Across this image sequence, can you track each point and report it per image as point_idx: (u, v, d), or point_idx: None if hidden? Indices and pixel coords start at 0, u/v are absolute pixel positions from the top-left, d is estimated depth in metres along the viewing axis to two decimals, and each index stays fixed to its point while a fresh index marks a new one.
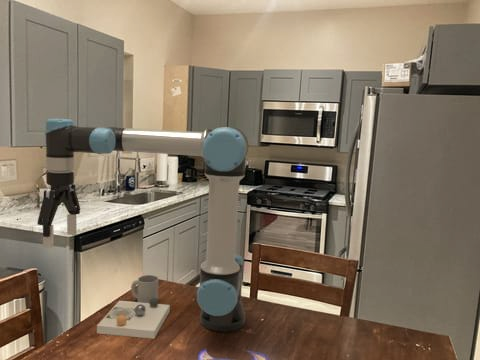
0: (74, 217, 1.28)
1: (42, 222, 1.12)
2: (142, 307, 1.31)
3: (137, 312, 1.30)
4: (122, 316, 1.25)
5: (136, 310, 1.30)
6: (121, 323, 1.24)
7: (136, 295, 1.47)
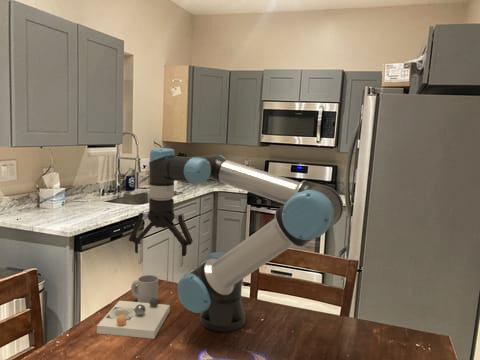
0: None
1: None
2: (142, 307, 1.31)
3: (137, 312, 1.30)
4: (122, 316, 1.25)
5: (136, 310, 1.30)
6: (121, 323, 1.24)
7: (136, 295, 1.47)
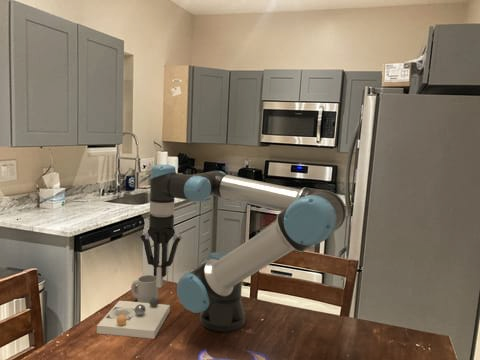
0: None
1: None
2: (142, 307, 1.31)
3: (137, 312, 1.30)
4: (122, 316, 1.25)
5: (136, 310, 1.30)
6: (121, 323, 1.24)
7: (136, 295, 1.47)
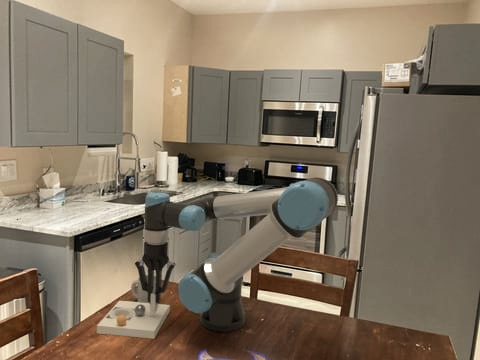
0: None
1: None
2: (142, 307, 1.31)
3: (137, 312, 1.30)
4: (122, 316, 1.25)
5: (136, 310, 1.30)
6: (121, 323, 1.24)
7: (136, 295, 1.47)
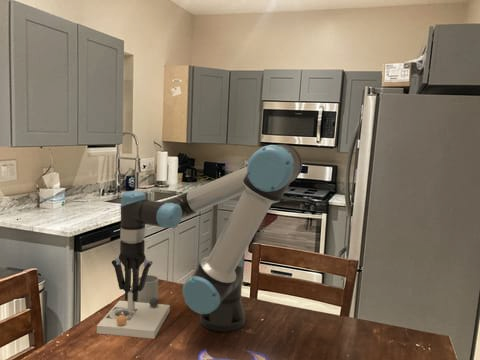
0: None
1: None
2: None
3: None
4: (122, 316, 1.25)
5: None
6: (121, 323, 1.24)
7: None
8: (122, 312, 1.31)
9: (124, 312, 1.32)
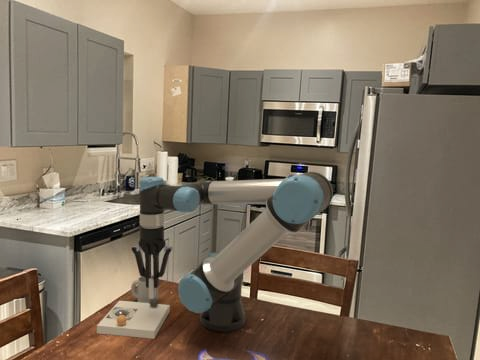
0: None
1: None
2: None
3: None
4: (122, 316, 1.25)
5: None
6: (121, 323, 1.24)
7: (136, 295, 1.47)
8: (118, 312, 1.32)
9: (120, 311, 1.32)
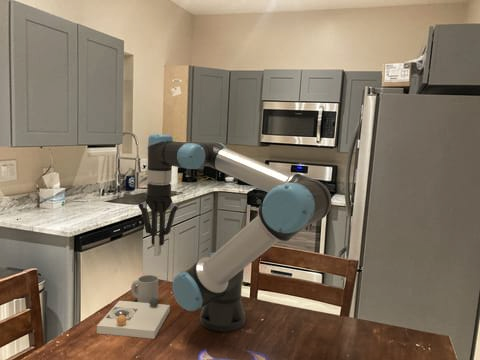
0: None
1: None
2: None
3: None
4: (122, 316, 1.25)
5: None
6: (121, 323, 1.24)
7: (136, 295, 1.47)
8: (118, 312, 1.32)
9: (120, 311, 1.32)
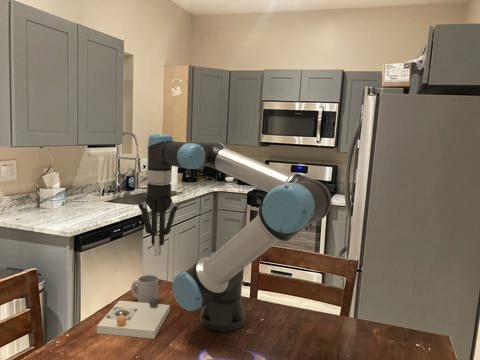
0: None
1: None
2: None
3: None
4: (122, 316, 1.25)
5: None
6: (121, 323, 1.24)
7: (136, 295, 1.47)
8: (118, 312, 1.32)
9: (120, 311, 1.32)
